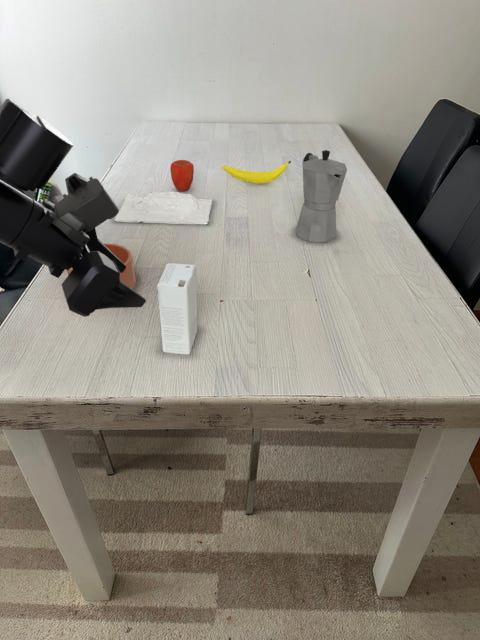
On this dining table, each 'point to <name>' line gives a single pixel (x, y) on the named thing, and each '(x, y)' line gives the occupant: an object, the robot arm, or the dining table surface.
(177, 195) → the terrain model
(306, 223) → the coffeepot
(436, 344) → the dining table surface
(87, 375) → the dining table surface
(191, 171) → the red rounded piece
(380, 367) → the dining table surface
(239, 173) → the banana
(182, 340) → the cosmetic box
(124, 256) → the crock
